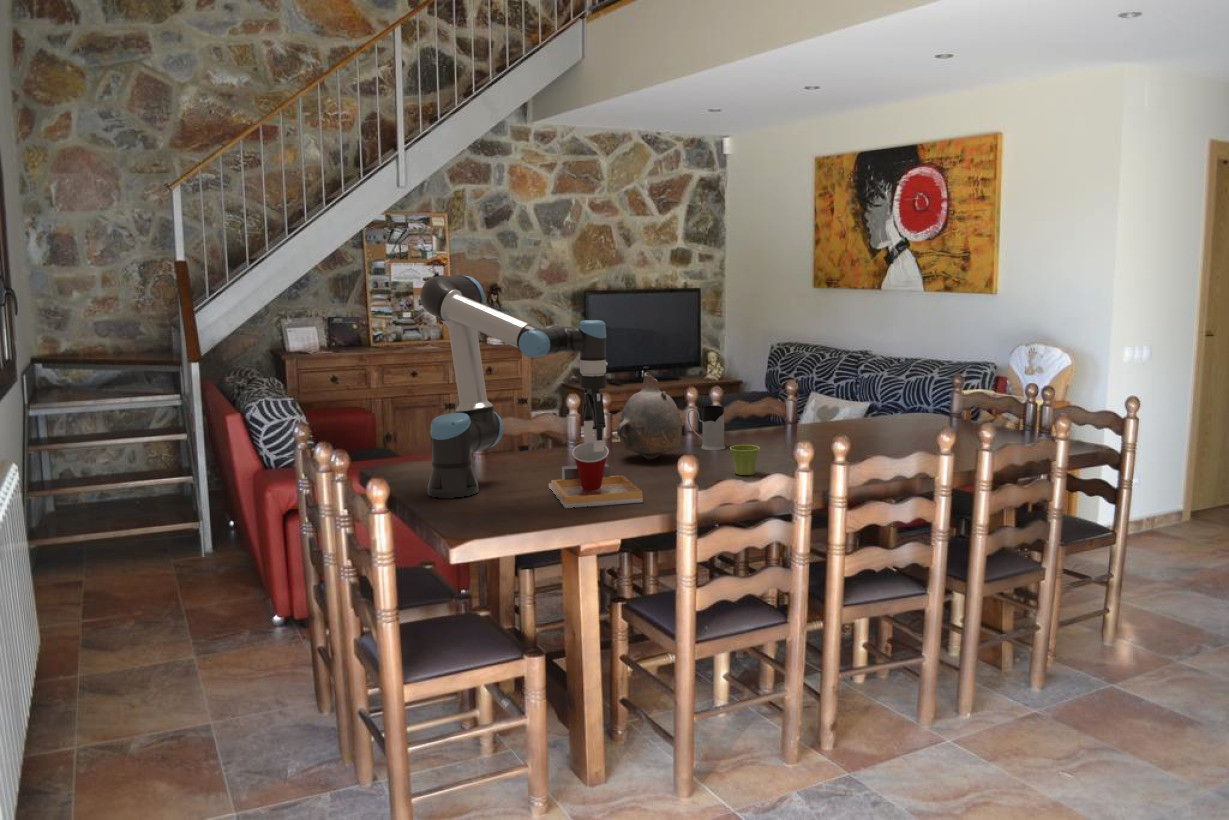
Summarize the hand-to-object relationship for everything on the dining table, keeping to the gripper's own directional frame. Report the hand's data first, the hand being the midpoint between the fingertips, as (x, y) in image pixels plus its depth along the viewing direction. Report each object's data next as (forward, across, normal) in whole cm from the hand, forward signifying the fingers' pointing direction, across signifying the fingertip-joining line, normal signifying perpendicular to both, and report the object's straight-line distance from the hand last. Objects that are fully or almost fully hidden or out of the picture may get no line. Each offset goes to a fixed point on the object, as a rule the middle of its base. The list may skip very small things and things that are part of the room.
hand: (593, 446), depth 293 cm
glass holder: (+15, +62, -55) cm, 84 cm away
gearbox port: (+15, +2, 0) cm, 15 cm away
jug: (+15, +47, -30) cm, 58 cm away
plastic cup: (+13, +4, 0) cm, 14 cm away
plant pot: (+14, +15, -52) cm, 56 cm away
